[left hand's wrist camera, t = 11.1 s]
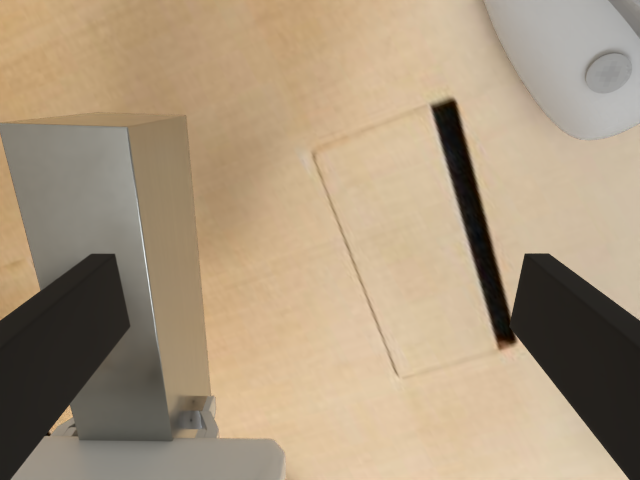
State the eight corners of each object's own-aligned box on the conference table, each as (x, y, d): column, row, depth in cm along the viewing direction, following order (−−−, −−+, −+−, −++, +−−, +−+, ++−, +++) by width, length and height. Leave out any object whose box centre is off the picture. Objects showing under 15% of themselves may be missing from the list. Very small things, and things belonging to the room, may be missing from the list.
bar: (97, 112, 26) (-4, 122, 18) (186, 115, 26) (127, 126, 18) (145, 402, 34) (93, 498, 26) (212, 403, 34) (180, 499, 26)
